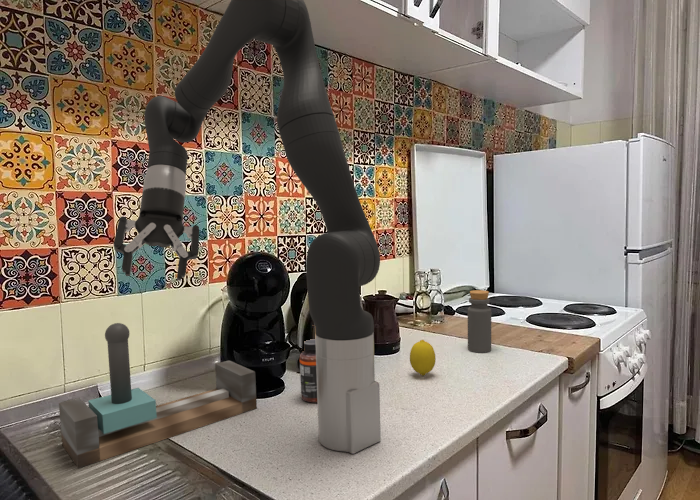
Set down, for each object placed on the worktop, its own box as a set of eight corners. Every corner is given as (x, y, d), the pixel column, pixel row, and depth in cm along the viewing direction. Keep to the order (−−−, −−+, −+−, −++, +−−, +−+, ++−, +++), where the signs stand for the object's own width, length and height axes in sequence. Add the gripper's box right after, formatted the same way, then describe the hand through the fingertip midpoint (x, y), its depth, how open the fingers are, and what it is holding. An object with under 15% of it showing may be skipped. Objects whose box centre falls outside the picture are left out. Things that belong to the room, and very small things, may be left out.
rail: (230, 394, 99) (228, 360, 98) (256, 408, 91) (255, 371, 91) (62, 445, 79) (58, 402, 78) (78, 468, 71) (74, 422, 71)
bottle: (463, 348, 126) (462, 291, 125) (481, 345, 128) (480, 288, 127) (477, 354, 121) (477, 294, 119) (496, 350, 123) (496, 292, 122)
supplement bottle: (331, 391, 99) (329, 336, 98) (332, 403, 93) (330, 344, 92) (301, 392, 98) (299, 337, 97) (300, 404, 92) (298, 346, 91)
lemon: (434, 371, 109) (434, 336, 108) (436, 380, 103) (436, 343, 103) (409, 371, 109) (409, 336, 109) (410, 380, 104) (409, 343, 103)
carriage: (139, 404, 85) (133, 315, 84) (156, 417, 80) (150, 322, 78) (89, 418, 80) (82, 323, 79) (103, 434, 74) (96, 332, 73)
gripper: (121, 180, 86) (108, 267, 81) (205, 192, 91) (197, 275, 86) (123, 197, 93) (111, 279, 88) (201, 207, 98) (193, 285, 93)
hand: (153, 277), depth 87 cm, fingers open, 8 cm apart
